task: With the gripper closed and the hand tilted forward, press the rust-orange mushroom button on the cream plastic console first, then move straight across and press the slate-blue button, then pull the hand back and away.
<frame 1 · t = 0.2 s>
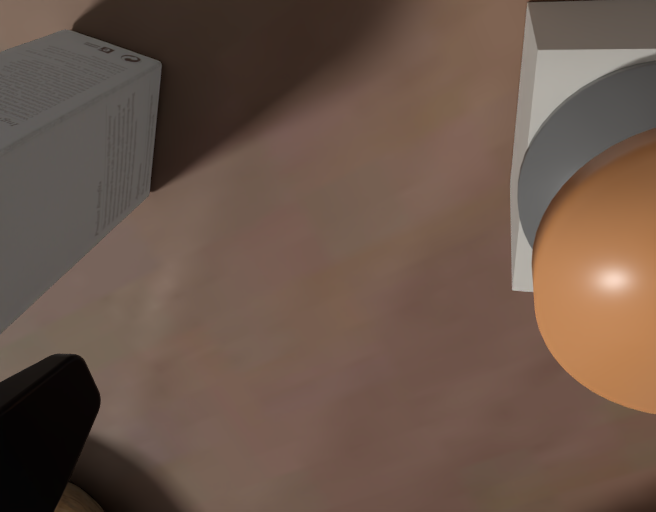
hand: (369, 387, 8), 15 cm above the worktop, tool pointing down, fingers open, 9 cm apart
skincare box: (117, 119, 24), on the worktop
oil lamp: (84, 510, 40), on the worktop
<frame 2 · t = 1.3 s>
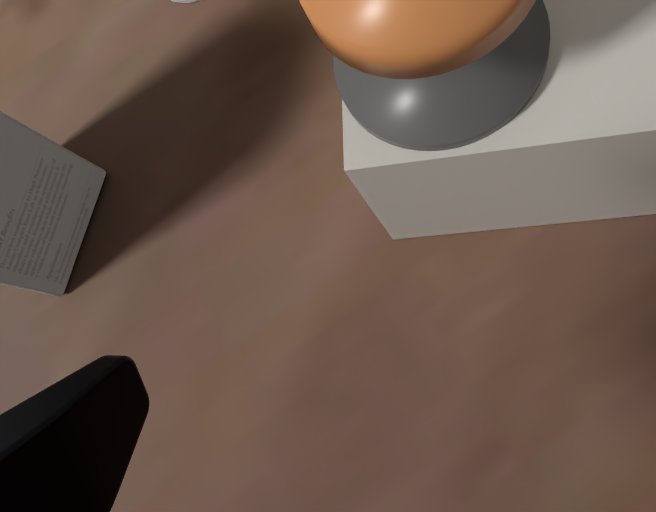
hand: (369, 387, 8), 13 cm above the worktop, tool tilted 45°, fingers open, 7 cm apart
skincare box: (57, 230, 28), on the worktop
button console: (590, 138, 22), on the worktop
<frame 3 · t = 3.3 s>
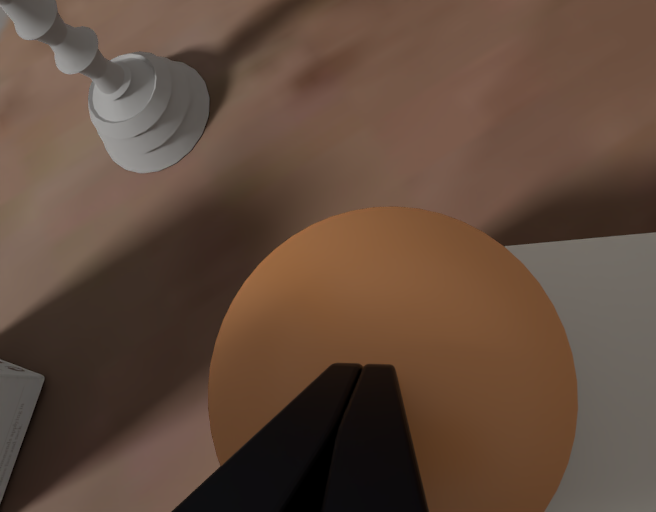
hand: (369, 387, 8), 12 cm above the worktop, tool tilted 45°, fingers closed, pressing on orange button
chalice: (157, 117, 25), on the worktop
orange button: (395, 388, 10), point 10 cm above the worktop, slide at 0.1 cm, touching gripper
button console: (610, 398, 18), on the worktop
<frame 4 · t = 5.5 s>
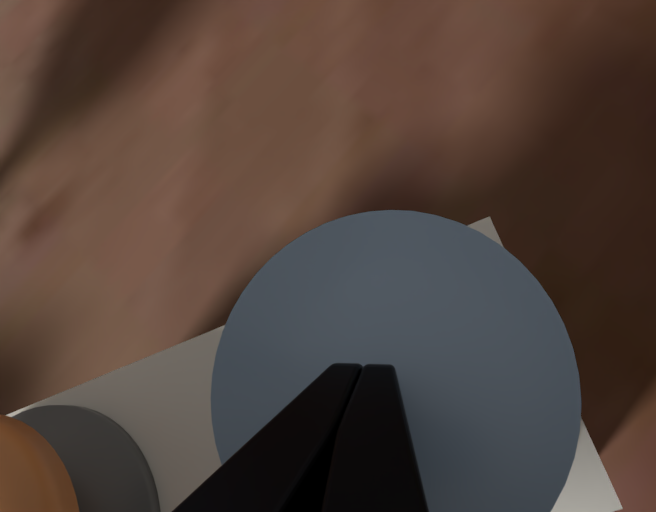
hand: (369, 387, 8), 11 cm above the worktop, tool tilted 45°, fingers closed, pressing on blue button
blue button: (398, 391, 10), point 10 cm above the worktop, slide at 0.3 cm, touching gripper
button console: (321, 451, 20), on the worktop
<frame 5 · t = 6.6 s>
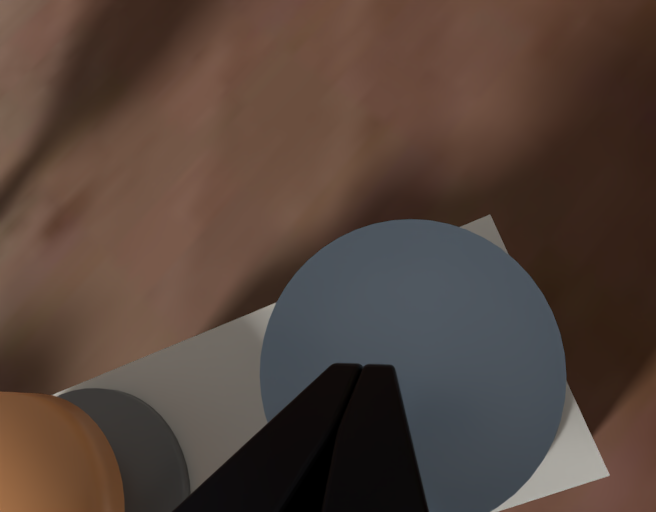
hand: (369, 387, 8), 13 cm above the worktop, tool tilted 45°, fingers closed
blue button: (415, 371, 12), point 9 cm above the worktop, slide at 0.9 cm
button console: (332, 435, 21), on the worktop
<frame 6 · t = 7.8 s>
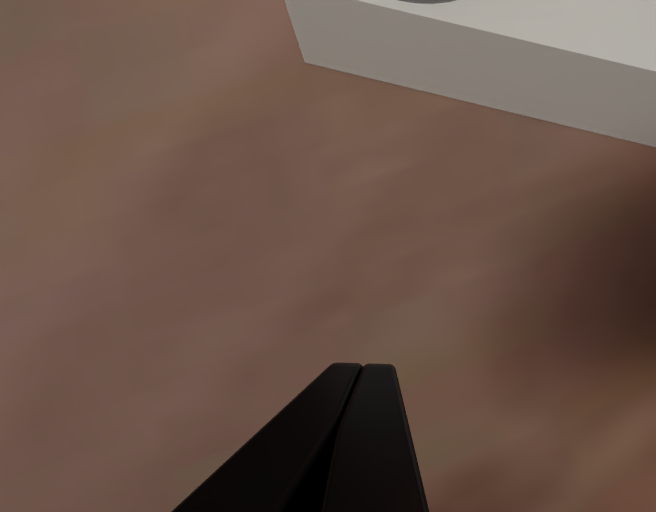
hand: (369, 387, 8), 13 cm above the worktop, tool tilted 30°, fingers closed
button console: (539, 23, 20), on the worktop
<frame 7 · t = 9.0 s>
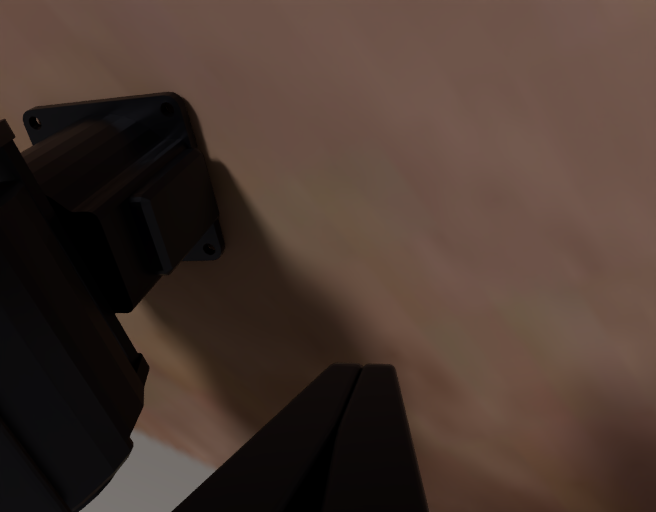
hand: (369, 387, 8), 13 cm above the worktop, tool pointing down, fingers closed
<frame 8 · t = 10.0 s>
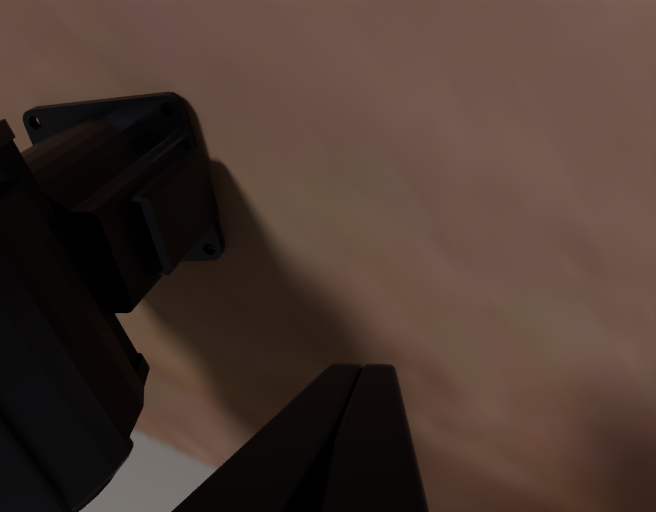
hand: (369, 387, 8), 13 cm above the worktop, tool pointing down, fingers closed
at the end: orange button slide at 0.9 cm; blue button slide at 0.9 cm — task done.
